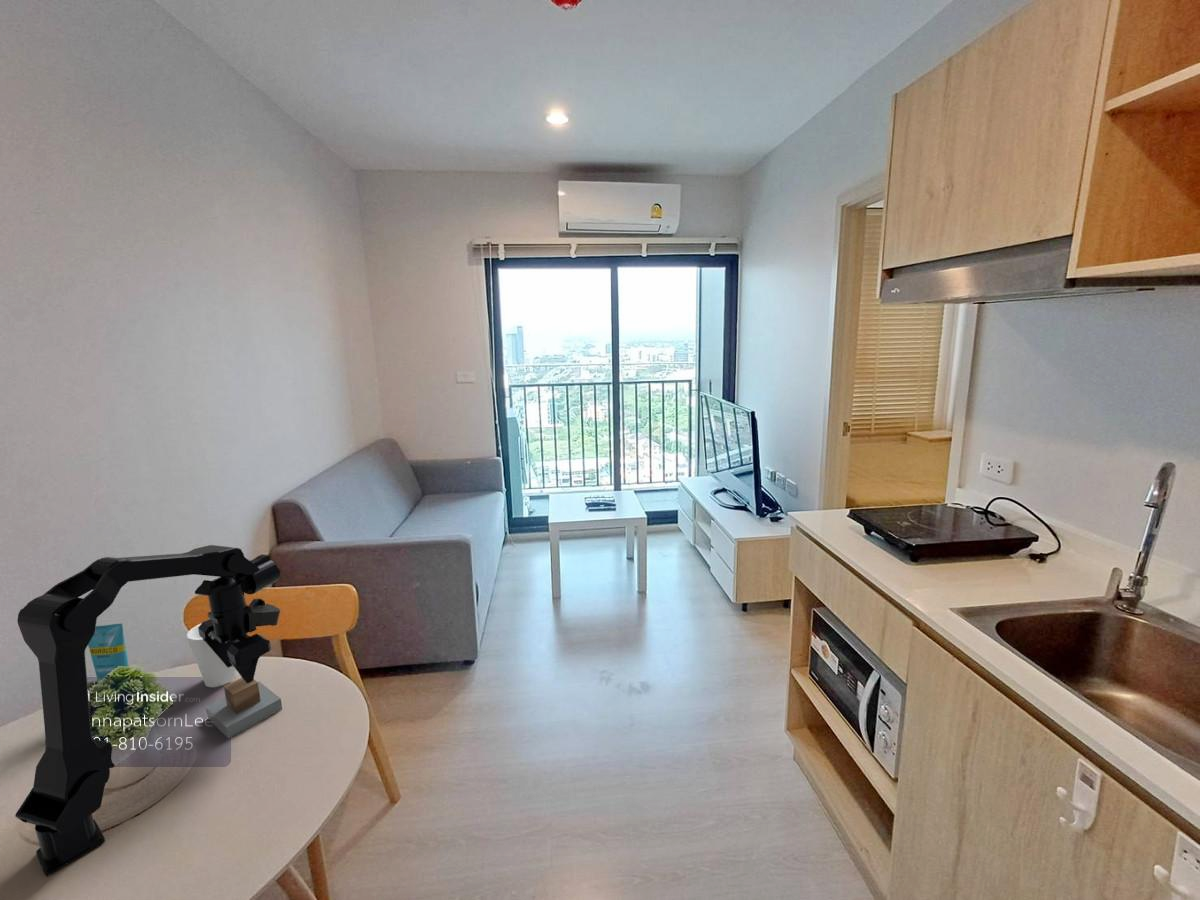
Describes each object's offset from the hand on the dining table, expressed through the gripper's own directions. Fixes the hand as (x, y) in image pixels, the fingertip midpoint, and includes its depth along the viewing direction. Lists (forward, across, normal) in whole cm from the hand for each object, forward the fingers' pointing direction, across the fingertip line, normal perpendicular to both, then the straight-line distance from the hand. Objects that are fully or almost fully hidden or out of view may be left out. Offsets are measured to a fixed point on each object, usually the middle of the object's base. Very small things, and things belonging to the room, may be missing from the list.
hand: (240, 673), depth 105 cm
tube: (+9, +25, +14) cm, 31 cm away
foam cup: (+10, +17, -2) cm, 20 cm away
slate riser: (+9, 0, 0) cm, 9 cm away
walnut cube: (+7, 0, 0) cm, 7 cm away
